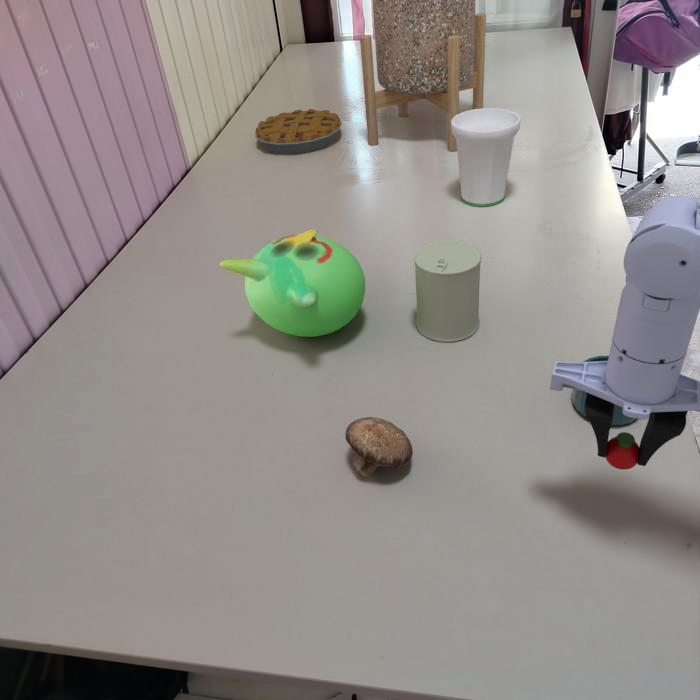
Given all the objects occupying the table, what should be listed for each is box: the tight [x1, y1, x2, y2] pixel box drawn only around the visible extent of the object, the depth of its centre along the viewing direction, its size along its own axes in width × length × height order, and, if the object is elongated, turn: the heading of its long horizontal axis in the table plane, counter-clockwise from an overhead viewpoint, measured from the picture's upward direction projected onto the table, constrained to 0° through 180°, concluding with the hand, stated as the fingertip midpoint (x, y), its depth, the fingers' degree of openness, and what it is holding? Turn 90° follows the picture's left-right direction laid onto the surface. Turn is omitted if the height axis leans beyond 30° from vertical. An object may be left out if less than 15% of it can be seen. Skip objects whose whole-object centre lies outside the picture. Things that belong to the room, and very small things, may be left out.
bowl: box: [571, 355, 638, 426], centre depth 76 cm, size 8×8×4 cm
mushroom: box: [345, 416, 414, 478], centre depth 73 cm, size 8×8×6 cm
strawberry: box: [605, 431, 640, 471], centre depth 61 cm, size 3×3×4 cm
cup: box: [451, 107, 522, 208], centre depth 120 cm, size 12×12×15 cm
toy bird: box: [219, 228, 366, 338], centre depth 92 cm, size 18×17×15 cm
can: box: [413, 239, 482, 343], centre depth 90 cm, size 9×9×12 cm
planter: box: [359, 0, 487, 152], centre depth 146 cm, size 22×23×32 cm
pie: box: [254, 108, 343, 155], centre depth 158 cm, size 22×22×5 cm
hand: (621, 453), depth 61 cm, fingers closed on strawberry, 3 cm apart
